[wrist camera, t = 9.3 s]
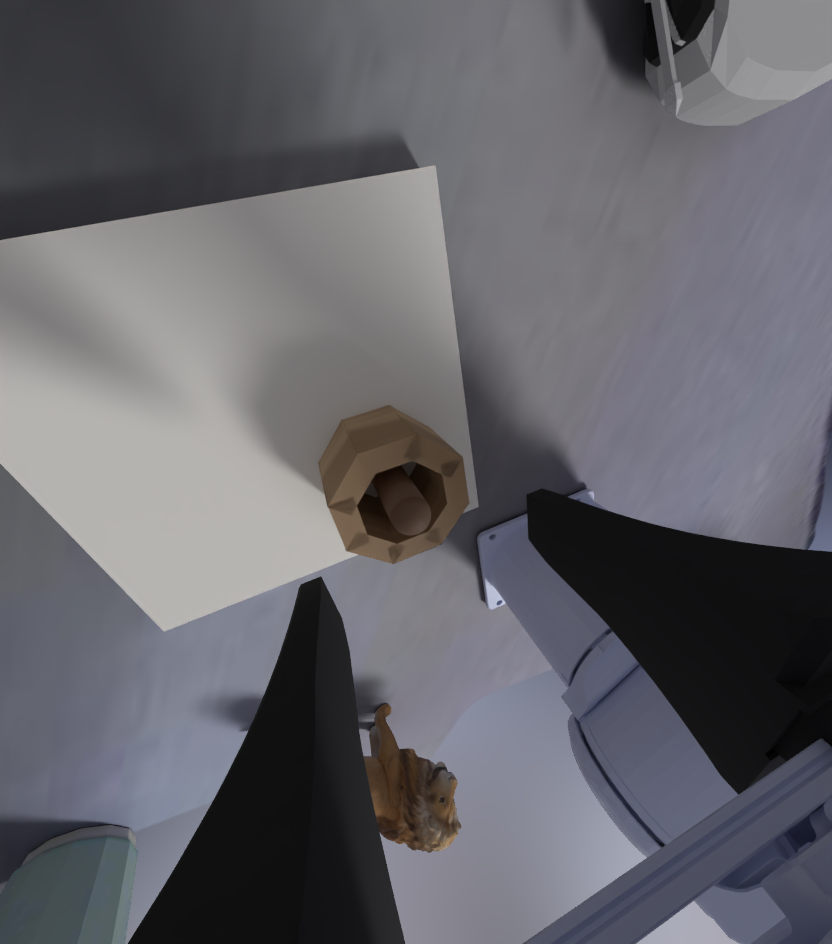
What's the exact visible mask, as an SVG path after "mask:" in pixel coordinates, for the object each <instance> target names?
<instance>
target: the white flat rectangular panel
mask: <svg viewBox="0 0 832 944" xmlns="http://www.w3.org/2000/svg"><path fill="white" fill-rule="evenodd" d="M388 405H391V406H392V407H394V408H395V409H397V410H399V411H401V412H403V413H404V414H406V415H408V416H410V417H412V418H414V419H415V420H417V421H419V422H421V423H423V424H424V425H426V426H429V427H430V428H431V429H432V430H433V431H434V432H435V433H436V434H438V435H439V436H440V437H441V438H442V439H443V440H444V441H445V442H447V443H448V444H449V445H450V446H451V447H452V448H453V449H454V450H456V451H457V452H458V453H459V454H460V455H461V456H462V457H463V462H464V469H465V476H466V483H467V490H468V497H469V502H470V503H469V505H468V506H467V507H466V509H465V510H464V512H463V513H465V512H467V511H470V510H473V509H475V508H478V507H479V505H478V497H477V489H476V481H475V474H474V466H473V458H472V450H471V442H470V434H469V426H468V418H467V410H466V403H465V395H464V387H463V379H462V371H461V363H460V355H459V347H458V339H457V332H456V324H455V316H454V308H453V300H452V292H451V284H450V276H449V268H448V261H447V253H446V245H445V237H444V229H443V221H442V213H441V205H440V197H439V190H438V182H437V174H436V166H429V167H423V168H417V169H411V170H406V171H400V172H394V173H388V174H382V175H376V176H371V177H365V178H359V179H353V180H347V181H342V182H336V183H330V184H324V185H318V186H312V187H307V188H301V189H295V190H289V191H283V192H278V193H272V194H266V195H260V196H254V197H248V198H243V199H237V200H231V201H225V202H219V203H214V204H208V205H202V206H196V207H190V208H184V209H179V210H173V211H167V212H161V213H155V214H150V215H144V216H138V217H132V218H126V219H121V220H115V221H109V222H103V223H97V224H91V225H86V226H80V227H74V228H68V229H62V230H57V231H51V232H45V233H39V234H33V235H27V236H22V237H16V238H10V239H4V240H0V464H1V465H2V466H3V467H4V468H5V469H6V470H7V471H8V472H9V473H10V474H11V475H12V476H13V477H14V478H15V479H16V480H17V481H18V482H19V483H20V484H21V485H22V486H23V487H24V488H25V489H26V490H27V491H28V492H29V493H30V494H31V495H32V496H33V497H34V499H35V500H36V501H37V502H38V503H39V504H40V505H41V506H42V507H43V508H44V509H45V510H46V511H47V512H48V513H49V514H50V515H51V516H52V517H53V518H54V519H55V520H56V521H57V522H58V523H59V524H60V525H61V526H62V527H63V528H64V529H65V530H66V531H67V532H68V533H69V534H70V535H71V537H72V538H73V539H74V540H75V541H76V542H77V543H78V544H79V545H80V546H81V547H82V548H83V549H84V550H85V551H86V552H87V553H88V554H89V555H90V556H91V557H92V558H93V559H94V560H95V561H96V562H97V563H98V564H99V565H100V566H101V567H102V568H103V569H104V570H105V571H106V572H107V574H108V575H109V576H110V577H111V578H112V579H113V580H114V581H115V582H116V583H117V584H118V585H119V586H120V587H121V588H122V589H123V590H124V591H125V592H126V593H127V594H128V595H129V596H130V597H131V598H132V599H133V600H134V601H135V602H136V603H137V604H138V605H139V606H140V607H141V608H142V609H143V611H144V612H145V613H146V614H147V615H148V616H149V617H150V618H151V619H152V620H153V621H154V622H155V623H156V624H157V625H158V626H159V627H160V628H161V629H162V630H163V631H164V632H165V631H167V630H170V629H172V628H175V627H177V626H180V625H182V624H185V623H187V622H190V621H192V620H195V619H197V618H200V617H202V616H205V615H207V614H210V613H213V612H215V611H218V610H220V609H223V608H225V607H228V606H230V605H233V604H235V603H238V602H240V601H243V600H245V599H248V598H250V597H253V596H255V595H258V594H260V593H263V592H266V591H268V590H271V589H273V588H276V587H278V586H281V585H283V584H286V583H288V582H291V581H293V580H296V579H298V578H301V577H303V576H306V575H308V574H311V573H313V572H316V571H319V570H321V569H324V568H326V567H329V566H331V565H334V564H336V563H339V562H341V561H344V560H346V559H349V558H351V557H354V556H356V555H359V554H355V553H351V552H347V551H346V550H345V546H344V544H343V541H342V539H341V537H340V534H339V532H338V530H337V527H336V525H335V522H334V520H333V518H332V515H331V513H330V510H329V508H328V507H327V503H326V498H325V494H324V489H323V484H322V479H321V474H320V469H319V465H318V462H319V461H320V459H321V457H322V455H323V453H324V451H325V450H326V448H327V446H328V444H329V442H330V440H331V438H332V437H333V435H334V433H335V431H336V429H337V427H338V425H339V424H340V422H341V420H343V419H346V418H350V417H353V416H356V415H359V414H362V413H366V412H369V411H372V410H375V409H378V408H382V407H385V406H388ZM401 466H402V467H403V469H404V470H405V472H406V473H407V474H408V476H410V474H411V473H412V471H413V469H414V468H415V466H416V462H414V461H411V462H408V463H405V464H402V465H401ZM365 494H368V495H371V496H373V497H378V494H377V491H376V489H375V487H374V485H373V483H372V481H371V483H370V484H369V486H368V488H367V489H366V491H365Z"/></svg>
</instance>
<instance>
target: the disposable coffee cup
mask: <svg viewBox="0 0 832 944" xmlns="http://www.w3.org/2000/svg"><path fill="white" fill-rule="evenodd" d="M135 846H136V837H135V836H134V834H133V833H132V831H131V830H130V829H128V828H123V827H118V826H113V825H105V826H97V827H89V828H81V829H78V830H75V831H72V832H69V833H67V834H64V835H61V836H58V837H55V838H52V839H50V840H48V841H47V842H45V843H44V844H43V845H41V846H40V847H38V848H37V849H35V850H34V851H32V852H31V853H29V854H28V855H27V857H26V859H25V860H24V862H23V863H22V865H21V867H19V868H18V869H17V870H15V871H14V872H13V874H12V875H11V877H10V879H9V880H8V882H7V884H6V886H5V887H4V889H3V891H2V892H1V894H0V944H125V940H126V932H127V925H128V918H129V911H130V904H131V897H132V890H133V882H134V876H135V868H136V861H137V854H138V850H137V849H136V848H135Z"/></svg>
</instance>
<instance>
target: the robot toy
mask: <svg viewBox="0 0 832 944" xmlns="http://www.w3.org/2000/svg"><path fill="white" fill-rule="evenodd" d="M643 54H644V56H645V57H646V67H645V77H646V79H647V80H648V82H649V84H650V85H651V87H652V89H653V91H654V92H655V94H656V96H657V97H658V99H659V101H660V102H661V103H662V104H663V105H664V106H665V108H666V111H668V112H669V113H671V114H673V115H674V116H675V117H676V118H678V119H680V120H682V121H684V122H688V123H692V124H697V125H702V126H720V125H740V124H742V123H744V122H747V121H749V120H751V119H753V118H755V117H757V116H760V115H762V114H764V113H766V112H768V111H770V110H773V109H775V108H777V107H779V106H781V105H783V104H786V103H788V102H790V101H792V100H794V99H796V98H798V97H800V96H801V95H803V94H805V93H807V92H809V91H811V90H812V89H814V88H816V87H818V86H820V85H821V84H823V83H825V82H827V81H829V80H831V79H832V0H644V34H643Z"/></svg>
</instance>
